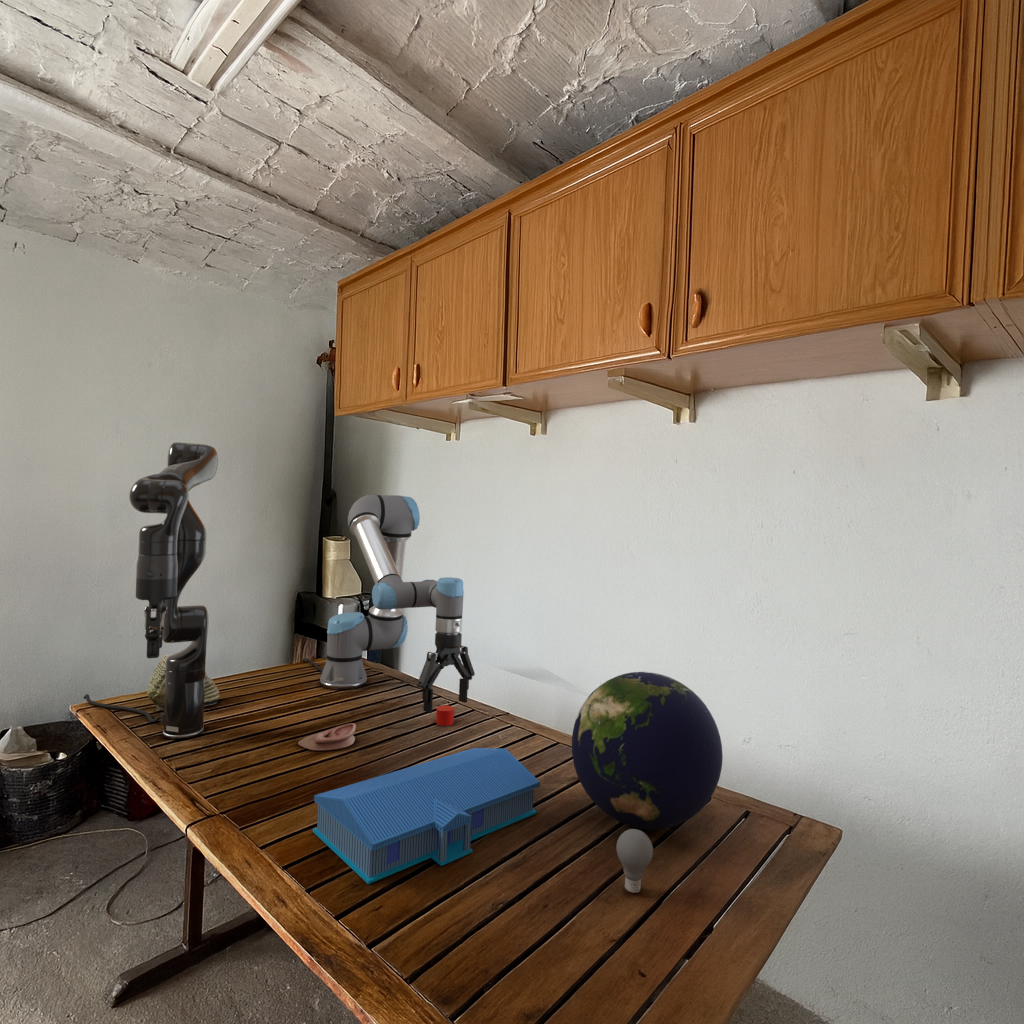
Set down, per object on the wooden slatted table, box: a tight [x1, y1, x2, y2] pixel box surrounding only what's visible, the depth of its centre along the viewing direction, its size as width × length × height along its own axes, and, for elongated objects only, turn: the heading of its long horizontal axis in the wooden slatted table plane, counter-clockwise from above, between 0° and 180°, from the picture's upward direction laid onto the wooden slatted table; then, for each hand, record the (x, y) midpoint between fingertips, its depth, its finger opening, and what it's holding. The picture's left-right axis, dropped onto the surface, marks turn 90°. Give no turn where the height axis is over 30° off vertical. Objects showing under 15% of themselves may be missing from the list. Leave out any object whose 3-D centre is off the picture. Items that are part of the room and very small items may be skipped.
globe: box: [571, 671, 724, 831], centre depth 129 cm, size 30×30×30 cm
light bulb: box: [615, 828, 654, 894], centre depth 106 cm, size 6×6×10 cm
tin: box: [435, 704, 455, 727], centre depth 181 cm, size 5×5×4 cm
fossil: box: [147, 654, 221, 712], centre depth 185 cm, size 9×18×15 cm, turn 132°
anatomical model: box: [297, 722, 357, 751], centre depth 162 cm, size 13×4×12 cm
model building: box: [312, 747, 541, 885], centre depth 124 cm, size 39×24×10 cm, turn 132°
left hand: (154, 652), depth 132 cm, fingers open, 8 cm apart
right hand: (445, 706), depth 181 cm, fingers open, 13 cm apart
